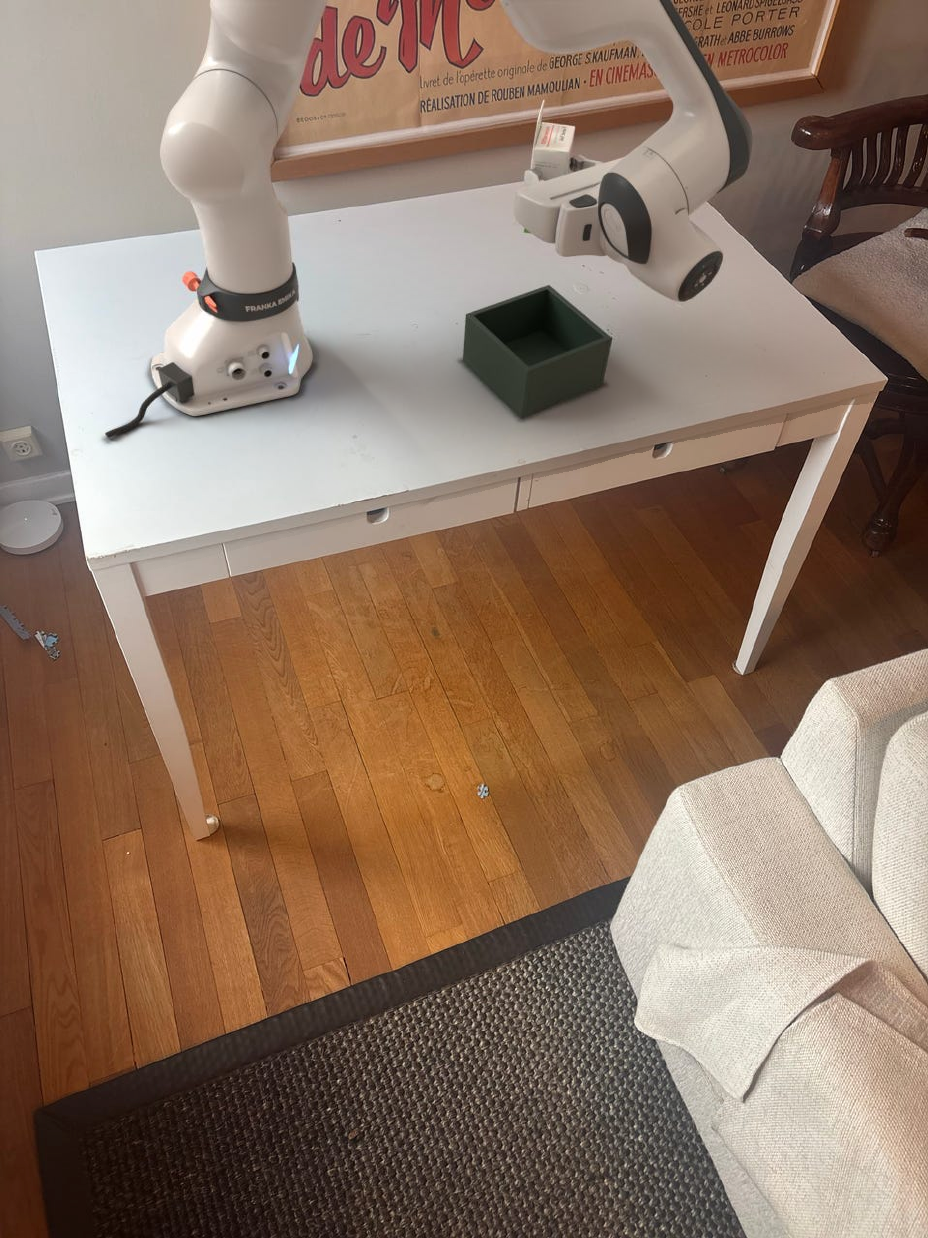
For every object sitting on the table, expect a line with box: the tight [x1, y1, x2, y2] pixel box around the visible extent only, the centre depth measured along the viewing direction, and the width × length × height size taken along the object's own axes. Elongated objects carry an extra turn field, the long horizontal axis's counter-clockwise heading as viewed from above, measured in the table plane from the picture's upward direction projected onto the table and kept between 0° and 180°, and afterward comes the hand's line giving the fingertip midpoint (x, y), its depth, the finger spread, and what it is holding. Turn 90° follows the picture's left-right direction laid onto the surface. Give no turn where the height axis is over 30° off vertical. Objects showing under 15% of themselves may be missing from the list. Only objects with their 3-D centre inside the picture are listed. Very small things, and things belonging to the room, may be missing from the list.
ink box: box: [523, 99, 576, 235], centre depth 130 cm, size 9×5×15 cm, turn 170°
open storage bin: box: [462, 284, 613, 419], centre depth 136 cm, size 15×15×8 cm
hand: (551, 167), depth 128 cm, fingers closed on ink box, 6 cm apart
